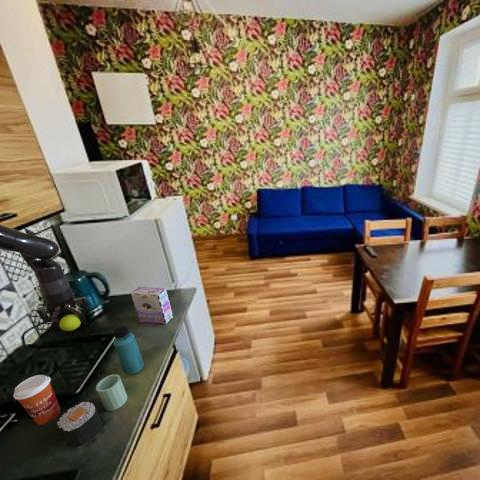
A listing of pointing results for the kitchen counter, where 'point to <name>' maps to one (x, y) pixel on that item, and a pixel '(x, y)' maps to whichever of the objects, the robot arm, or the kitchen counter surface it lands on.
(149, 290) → the candy box
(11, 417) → the kitchen counter surface
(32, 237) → the robot arm
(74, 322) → the ball
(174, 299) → the kitchen counter surface
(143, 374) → the kitchen counter surface
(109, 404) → the ceramic cup
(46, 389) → the paper cup
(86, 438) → the sushi
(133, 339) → the beverage bottle
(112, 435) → the kitchen counter surface
